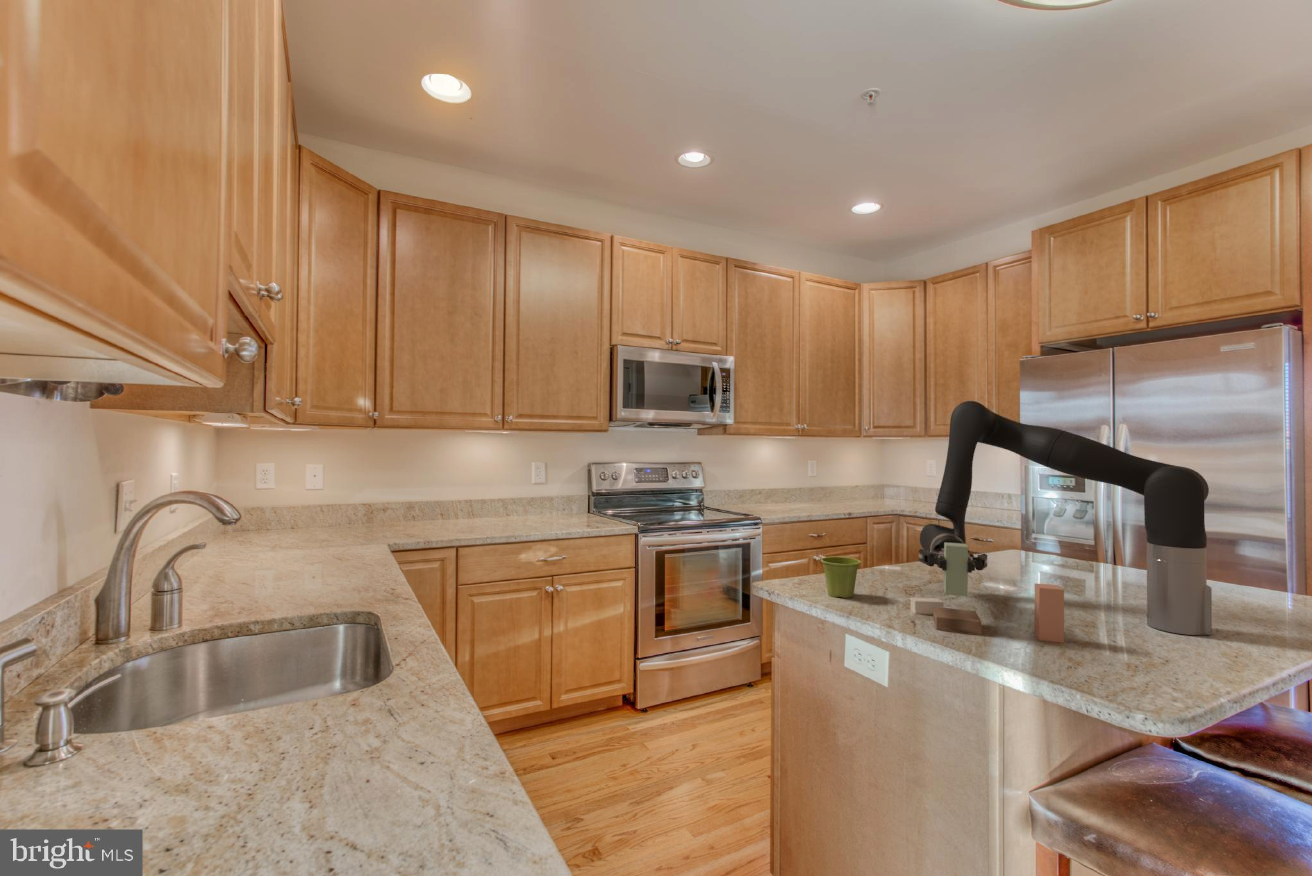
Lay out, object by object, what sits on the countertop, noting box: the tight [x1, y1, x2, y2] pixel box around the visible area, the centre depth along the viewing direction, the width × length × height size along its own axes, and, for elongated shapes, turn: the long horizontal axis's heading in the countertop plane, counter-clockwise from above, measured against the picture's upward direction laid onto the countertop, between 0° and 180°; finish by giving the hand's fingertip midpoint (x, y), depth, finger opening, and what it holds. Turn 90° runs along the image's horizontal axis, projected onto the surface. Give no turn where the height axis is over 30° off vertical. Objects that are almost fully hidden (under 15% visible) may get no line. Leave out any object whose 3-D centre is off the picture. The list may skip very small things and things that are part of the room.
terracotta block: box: [1033, 582, 1065, 643], centre depth 115 cm, size 4×4×10 cm
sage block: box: [943, 542, 969, 597], centre depth 122 cm, size 4×4×10 cm
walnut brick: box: [932, 607, 982, 636], centre depth 122 cm, size 8×8×3 cm
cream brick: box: [910, 597, 944, 615], centre depth 132 cm, size 6×3×3 cm, turn 85°
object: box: [820, 556, 861, 599], centre depth 146 cm, size 9×9×9 cm
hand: (957, 566), depth 119 cm, fingers closed on sage block, 4 cm apart
